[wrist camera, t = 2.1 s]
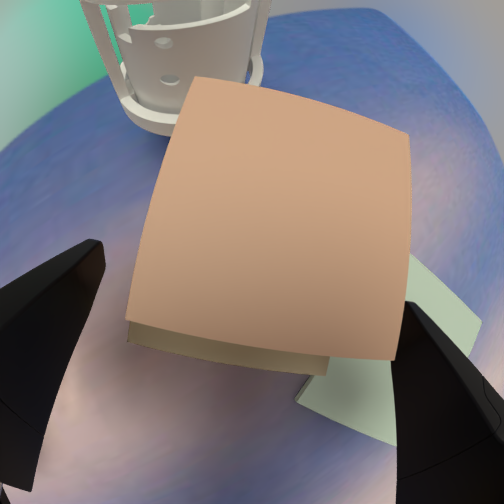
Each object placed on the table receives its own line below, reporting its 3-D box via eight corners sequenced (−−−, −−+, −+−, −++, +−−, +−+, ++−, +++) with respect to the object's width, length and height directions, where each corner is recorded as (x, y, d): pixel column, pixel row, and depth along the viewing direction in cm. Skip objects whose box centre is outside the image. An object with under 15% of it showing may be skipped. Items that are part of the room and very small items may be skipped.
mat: (409, 449, 16) (413, 452, 16) (294, 399, 16) (296, 402, 15) (477, 321, 18) (482, 321, 18) (387, 239, 18) (392, 238, 18)
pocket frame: (308, 363, 16) (325, 376, 14) (142, 333, 16) (127, 341, 13) (333, 205, 18) (353, 190, 15) (178, 171, 17) (171, 149, 14)
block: (276, 317, 17) (394, 360, 5) (191, 301, 16) (124, 319, 4) (290, 234, 17) (408, 134, 6) (208, 217, 17) (194, 76, 5)
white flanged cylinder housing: (224, 82, 19) (243, -107, 4) (266, 158, 18) (354, -65, 3) (131, 115, 17) (66, -71, 3) (162, 200, 17) (52, -29, 2)
